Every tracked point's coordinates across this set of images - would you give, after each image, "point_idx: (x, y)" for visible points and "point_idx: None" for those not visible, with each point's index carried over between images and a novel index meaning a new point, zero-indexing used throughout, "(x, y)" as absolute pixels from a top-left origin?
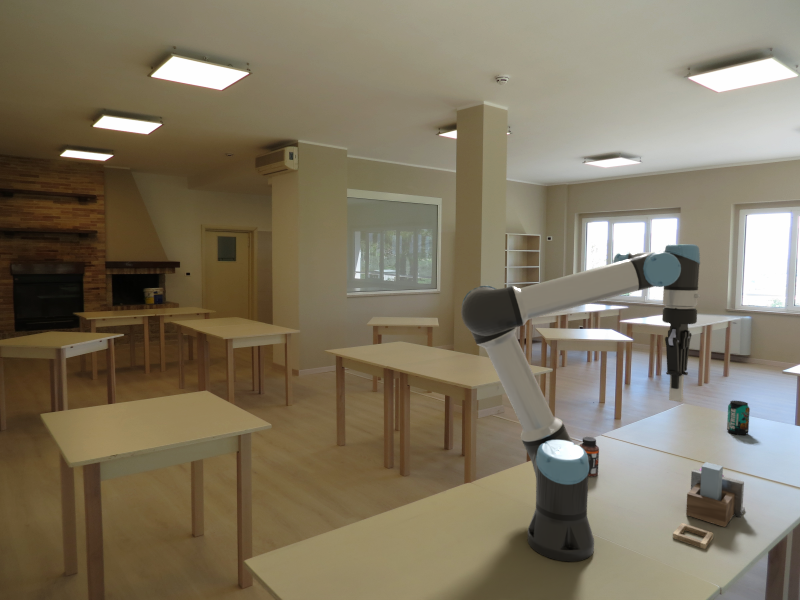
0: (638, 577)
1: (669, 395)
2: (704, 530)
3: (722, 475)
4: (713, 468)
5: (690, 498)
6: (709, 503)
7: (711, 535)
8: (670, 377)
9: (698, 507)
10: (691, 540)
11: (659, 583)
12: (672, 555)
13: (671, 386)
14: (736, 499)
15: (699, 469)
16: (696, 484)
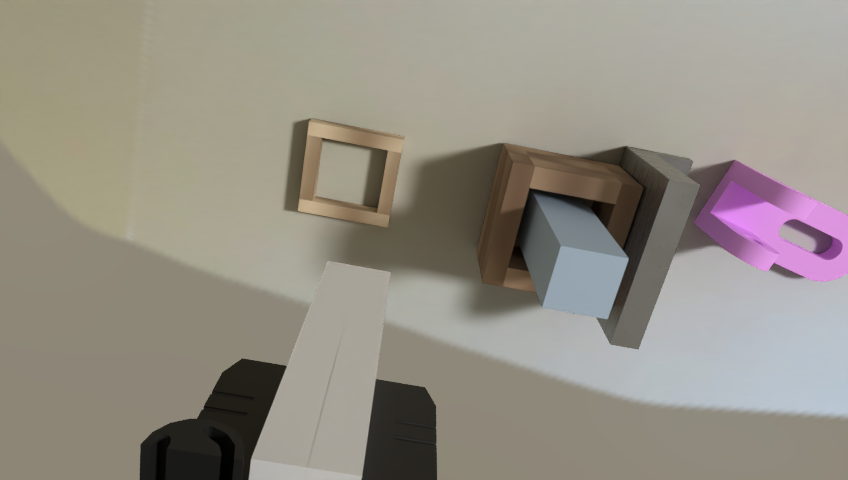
0: (9, 55)
1: (318, 285)
2: (389, 204)
3: (761, 268)
4: (557, 288)
5: (509, 170)
6: (493, 230)
7: (367, 223)
8: (264, 430)
9: (498, 189)
10: (303, 173)
11: (25, 112)
12: (202, 127)
13: (225, 374)
14: None
15: (792, 190)
16: (629, 186)
